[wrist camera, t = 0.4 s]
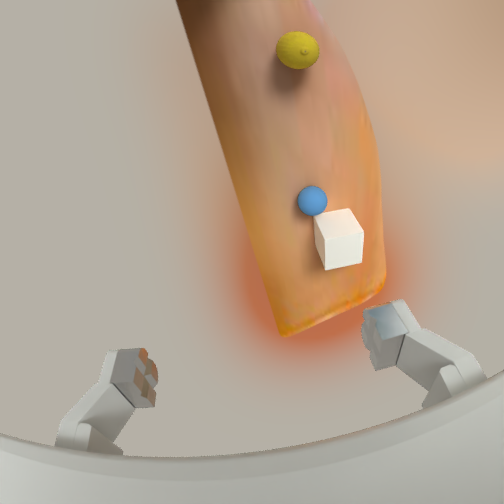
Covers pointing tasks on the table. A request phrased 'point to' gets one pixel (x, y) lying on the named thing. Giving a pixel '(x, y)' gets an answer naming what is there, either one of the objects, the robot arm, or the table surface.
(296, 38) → the lemon
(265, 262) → the table surface
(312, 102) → the table surface
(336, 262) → the matte ivory cube
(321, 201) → the ball
